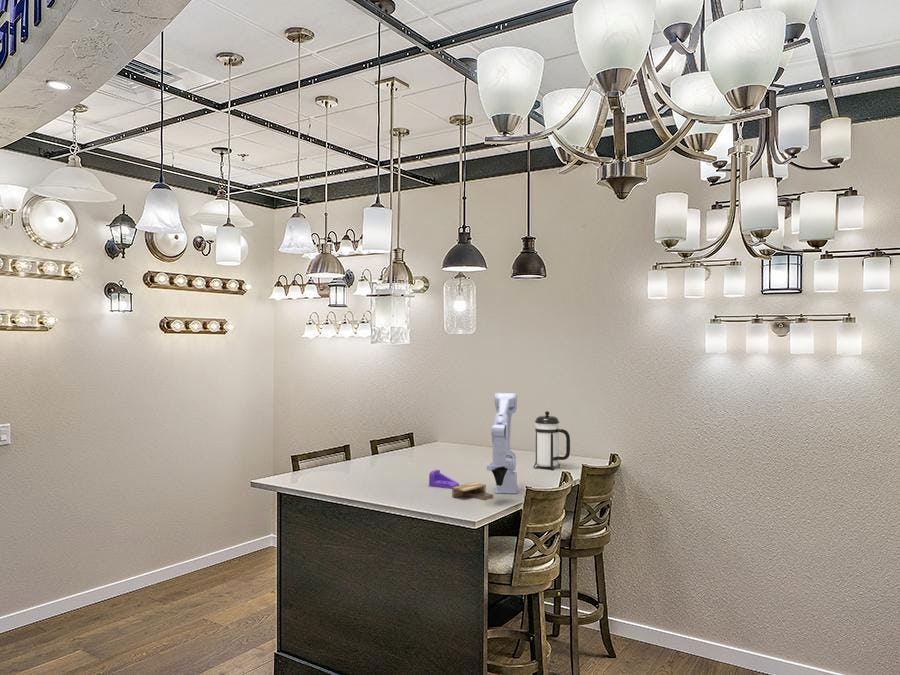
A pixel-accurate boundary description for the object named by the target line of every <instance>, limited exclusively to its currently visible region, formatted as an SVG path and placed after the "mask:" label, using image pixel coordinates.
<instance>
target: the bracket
mask: <svg viewBox="0 0 900 675" xmlns="http://www.w3.org/2000/svg"><path fill="white" fill-rule="evenodd" d="M428 477H429V479H428V481H429V483H428V484H429V485H428V486H429V488H440V489H447V490H448V489H449V490H452V487H455V486H460V483H459V482H458V481H455V479H452V478H450V477H448V476H447V475H445V474H443V473H442V472H441V470H440V469H433V470H432V471H430V472H429V475H428Z"/></svg>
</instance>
